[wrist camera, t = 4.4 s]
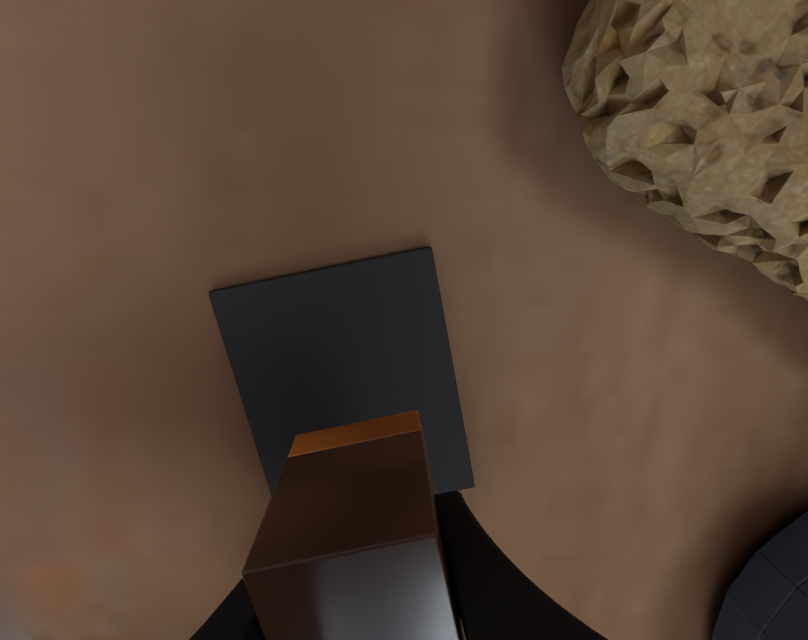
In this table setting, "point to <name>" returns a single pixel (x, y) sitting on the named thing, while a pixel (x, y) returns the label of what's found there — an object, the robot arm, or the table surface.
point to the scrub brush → (354, 540)
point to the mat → (346, 357)
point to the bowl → (770, 591)
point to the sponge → (703, 118)
